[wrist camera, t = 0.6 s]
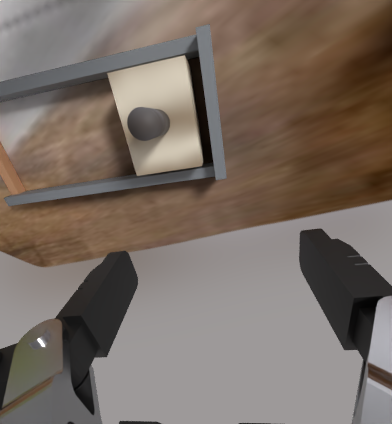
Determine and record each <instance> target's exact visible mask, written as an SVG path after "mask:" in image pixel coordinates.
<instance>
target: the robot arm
mask: <svg viewBox="0 0 392 424" xmlns="http://www.w3.org/2000/svg"><path fill="white" fill-rule="evenodd" d="M299 261H300V267H301V271H302V273H303V275H304V277H305V278H306V281H307V282H308V284H309V286H310V288H311V290H312V292H313V294H314V295H315V297H316V299H317V301H318V302H319V304H320V306H321V308H322V310H323V312H324V314H325V315H326V317H327V319H328V321H329V323H330V325H331V327H332V328H333V330H334V332H335V334H336V335H337V337H338V339H339V341H340V343H341V345H342V347H343V348H344V350H358V351H359V353H360V355H361V356H362V358H363V363H362V368H361V374H360V379H359V385H358V390H357V396H356V402H355V408H354V413H353V419H352V424H392V286H391V285H390V284H389V283H388V282H387V281H386V280H385V279H384V278H383V277H382V276H381V275H380V274H379V273H378V272H377V271H376V270H375V269H374V268H373V267H372V266H371V265H368V262H367V261H366V260H365V259H364V258H363V257H360V254H359V253H358V252H357V251H356V250H354V249H353V247H351V246H350V245H348V244H346V243H345V242H343V241H341V240H339V239H331V238H330V237H329V236H328V235H327V234H326V233H325V232H324V231H323V230H322V229H312V230H304V231H301V232H300V253H299ZM137 285H138V277H137V274H136V271H135V269H134V266H133V264H132V261H131V259H130V256H129V254H128V252H126V251H120V252H111V253H109V254H108V255H107V256H106V258H105V259H104V260H103V262H102V263H101V264H100V265H98V266H97V267H96V268H95V269H93V270H92V271H91V272H90V273H89V275H88V276H87V277H86V279H85V280H84V282H83V283H82V284H81V285H80V286H79V288H78V290H76V292H75V293H74V294H73V296H72V297H71V298H70V300H69V301H68V302H67V303H66V305H65V306H64V307H63V309H62V310H61V311H60V312H59V314H58V315H57V316H56V318H55V319H49V320H46V321H44V322H42V323H40V324H38V325H36V326H35V327H33V328H32V329H31V330H29V331H28V332H27V333H26V334H25V335H24V336H23V337H22V338H21V340H20V341H19V342H18V343H17V344H14V345H11V346H8V347H5V348H2V349H0V424H102V421H101V416H100V410H99V403H98V396H97V390H96V384H95V376H94V371H93V367H92V366H91V364H92V361H93V359H94V358H95V357H107V355H108V353H109V351H110V348H111V346H112V344H113V341H114V339H115V337H116V335H117V332H118V330H119V327H120V325H121V323H122V321H123V318H124V316H125V314H126V312H127V309H128V307H129V305H130V302H131V300H132V298H133V295H134V293H135V291H136V289H137ZM119 424H161V423H158V422H141V421H120V422H119ZM239 424H265V423H239ZM266 424H267V423H266Z"/></svg>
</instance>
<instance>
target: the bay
mask: <svg viewBox="0 0 392 424" xmlns="http://www.w3.org/2000/svg"><path fill="white" fill-rule="evenodd" d="M184 55H185V57H186V59H187V60H188V59H192V58H197V57H200V64H201V72H202V79H203V87H204V94H205V102H206V110H207V117H208V125H209V132H210V140H211V147H212V155H213V163H206V164H202V166H199V167H193V168H186V169H180V170H173V171H166V172H160V173H153V174H147V175H140V176H137V175H136V174H134V175H128V176H121V177H115V178H108V179H102V180H95V181H89V182H82V183H76V184H69V185H63V186H56V187H50V188H43V189H37V190H30V191H26V190H25V188H24V186H23V185H22V183H21V181H20V179H19V177H18V175H17V173H16V171H15V169H14V167H13V165H12V164H11V162H10V160H9V158H8V156H7V154H6V152H5V150H4V148H3V146H2V144H1V143H0V175H1V177H2V179H3V180H4V182H5V184H6V186H7V188H8V189H9V191H10V193H11V195H10V196H8V197H5V198H4V199H5V201H6V203H7V204H8V206H12V205H19V204H26V203H33V202H40V201H47V200H54V199H61V198H68V197H75V196H82V195H89V194H96V193H103V192H110V191H117V190H124V189H131V188H138V187H145V186H152V185H159V184H165V183H172V182H179V181H186V180H193V179H200V178H207V177H214V176H215V177H216V180H219V179H226V169H225V160H224V151H223V142H222V133H221V124H220V115H219V106H218V97H217V88H216V79H215V70H214V60H213V51H212V42H211V33H210V24H208V25H204V26H200V27H196V35H192V36H188V37H184V38H180V39H176V40H172V41H168V42H163V43H159V44H155V45H151V46H147V47H143V48H139V49H134V50H130V51H126V52H122V53H118V54H114V55H110V56H106V57H101V58H97V59H93V60H89V61H85V62H81V63H77V64H73V65H68V66H64V67H60V68H56V69H52V70H48V71H44V72H40V73H35V74H31V75H27V76H23V77H19V78H15V79H11V80H6V81H2V82H0V102H2V101H7V100H11V99H16V98H20V97H24V96H29V95H33V94H38V93H42V92H47V91H51V90H55V89H60V88H64V87H69V86H73V85H77V84H82V83H86V82H91V81H95V80H100V79H104V78H108V74H107V73H110V72H114V71H119V70H123V69H127V68H132V67H136V66H140V65H145V64H149V63H153V62H158V61H162V60H166V59H171V58H175V57H179V56H184Z"/></svg>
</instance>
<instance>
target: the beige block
mask: <svg viewBox="0 0 392 424" xmlns="http://www.w3.org/2000/svg"><path fill="white" fill-rule="evenodd" d="M107 74H108V78H109V81H110V85H111V88H112V91H113V95H114V98H115V102H116V105H117V109H118V112H119V116H120V119H121V123H122V126H123V130H124V133H125V137H126V140H127V144H128V147H129V151H130V154H131V157H132V161H133V164H134V168H135V171H136V175H137V176H140V175H147V174H153V173H160V172H166V171H173V170H180V169H186V168H193V167H199V166H202V164H203V160H204V155H203V148H202V141H201V135H200V128H199V121H198V114H197V108H196V101H195V94H194V88H193V81H192V74H191V68H190V65H189V63H188V61H187V59H186V57H185V55H184V56H179V57H175V58H171V59H166V60H162V61H158V62H153V63H149V64H145V65H140V66H136V67H132V68H127V69H123V70H119V71H114V72H110V73H107Z"/></svg>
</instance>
